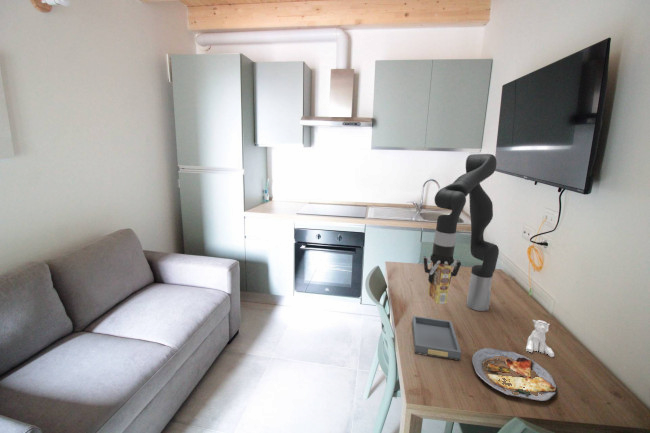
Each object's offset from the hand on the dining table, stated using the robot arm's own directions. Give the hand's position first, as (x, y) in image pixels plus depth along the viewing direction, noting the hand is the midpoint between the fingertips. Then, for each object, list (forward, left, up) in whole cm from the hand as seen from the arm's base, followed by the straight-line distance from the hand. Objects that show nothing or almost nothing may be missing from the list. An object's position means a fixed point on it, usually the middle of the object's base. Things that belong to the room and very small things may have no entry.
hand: (438, 283), depth 120 cm
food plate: (-25, +15, -24) cm, 38 cm away
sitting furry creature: (-40, -4, -24) cm, 47 cm away
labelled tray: (-1, +1, -24) cm, 24 cm away
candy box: (0, 0, -7) cm, 7 cm away
